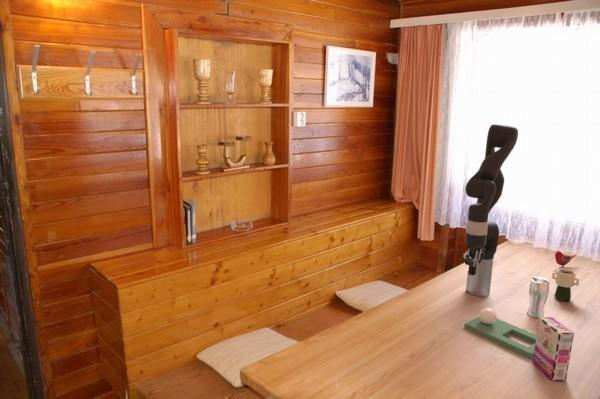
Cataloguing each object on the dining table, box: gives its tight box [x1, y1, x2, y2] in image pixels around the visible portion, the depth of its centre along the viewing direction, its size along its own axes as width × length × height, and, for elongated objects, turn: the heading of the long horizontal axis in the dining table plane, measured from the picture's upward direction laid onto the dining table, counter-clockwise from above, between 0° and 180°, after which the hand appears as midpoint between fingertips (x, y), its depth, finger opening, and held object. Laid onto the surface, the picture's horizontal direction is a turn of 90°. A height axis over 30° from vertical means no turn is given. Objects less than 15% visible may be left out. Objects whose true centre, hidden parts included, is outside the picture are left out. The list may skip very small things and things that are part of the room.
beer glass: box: [527, 276, 550, 319], centre depth 189 cm, size 7×7×15 cm
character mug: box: [551, 268, 580, 301], centre depth 204 cm, size 11×7×13 cm, turn 39°
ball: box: [478, 307, 497, 324], centre depth 177 cm, size 6×6×6 cm
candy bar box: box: [532, 316, 575, 382], centre depth 149 cm, size 11×5×16 cm, turn 5°
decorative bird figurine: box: [554, 250, 578, 269], centre depth 242 cm, size 3×18×10 cm, turn 115°
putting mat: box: [463, 316, 537, 360], centre depth 172 cm, size 26×14×2 cm, turn 37°
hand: (471, 274), depth 181 cm, fingers closed
